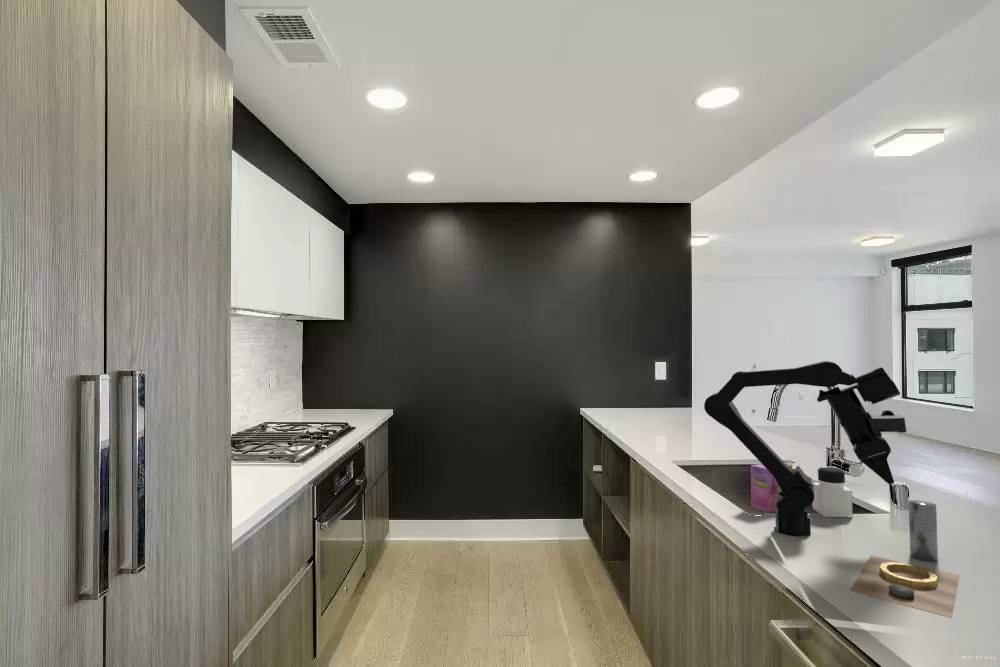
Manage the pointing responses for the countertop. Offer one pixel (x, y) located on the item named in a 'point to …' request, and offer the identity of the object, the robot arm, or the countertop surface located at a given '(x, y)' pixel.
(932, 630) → the countertop surface
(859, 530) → the countertop surface
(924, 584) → the brass ring
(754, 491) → the box
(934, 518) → the steel peg
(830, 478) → the medicine bottle
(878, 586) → the board
